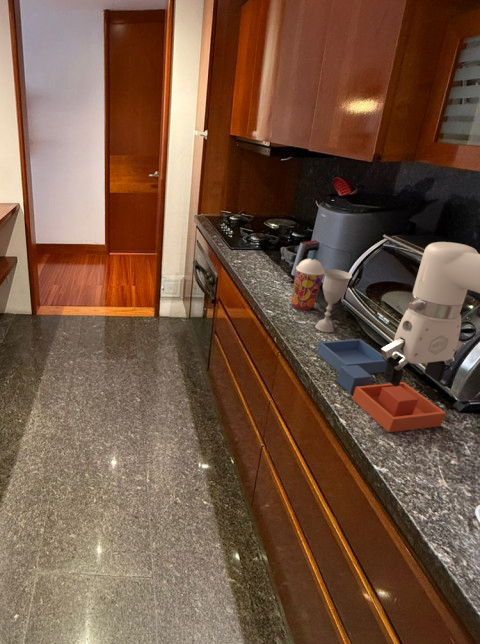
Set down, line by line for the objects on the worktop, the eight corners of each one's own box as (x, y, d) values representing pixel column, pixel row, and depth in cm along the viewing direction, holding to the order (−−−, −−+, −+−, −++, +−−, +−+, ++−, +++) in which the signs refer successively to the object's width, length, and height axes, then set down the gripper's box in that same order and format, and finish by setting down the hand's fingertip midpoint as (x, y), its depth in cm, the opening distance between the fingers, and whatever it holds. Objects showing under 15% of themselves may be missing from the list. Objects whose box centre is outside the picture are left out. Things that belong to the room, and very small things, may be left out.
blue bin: (356, 349, 107) (360, 338, 106) (387, 371, 98) (391, 360, 97) (316, 353, 106) (319, 342, 105) (343, 376, 97) (346, 364, 95)
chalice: (342, 334, 115) (357, 278, 108) (319, 334, 115) (333, 278, 108) (329, 322, 121) (342, 269, 115) (307, 322, 122) (319, 269, 115)
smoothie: (288, 299, 136) (299, 245, 129) (315, 303, 133) (328, 249, 125) (288, 309, 129) (299, 253, 122) (316, 314, 126) (329, 257, 118)
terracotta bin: (399, 393, 90) (403, 381, 89) (440, 426, 81) (446, 413, 80) (352, 399, 89) (355, 386, 88) (388, 432, 80) (393, 419, 78)
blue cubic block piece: (353, 380, 95) (357, 364, 93) (367, 392, 91) (372, 376, 89) (336, 381, 95) (340, 366, 93) (350, 393, 91) (354, 378, 89)
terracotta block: (394, 401, 87) (400, 385, 86) (412, 416, 83) (418, 399, 81) (376, 403, 87) (382, 387, 85) (393, 418, 83) (399, 401, 81)
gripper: (411, 319, 70) (389, 396, 76) (494, 310, 72) (466, 386, 78) (378, 302, 77) (360, 373, 83) (454, 294, 79) (431, 365, 85)
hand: (411, 379), depth 81 cm, fingers open, 9 cm apart
